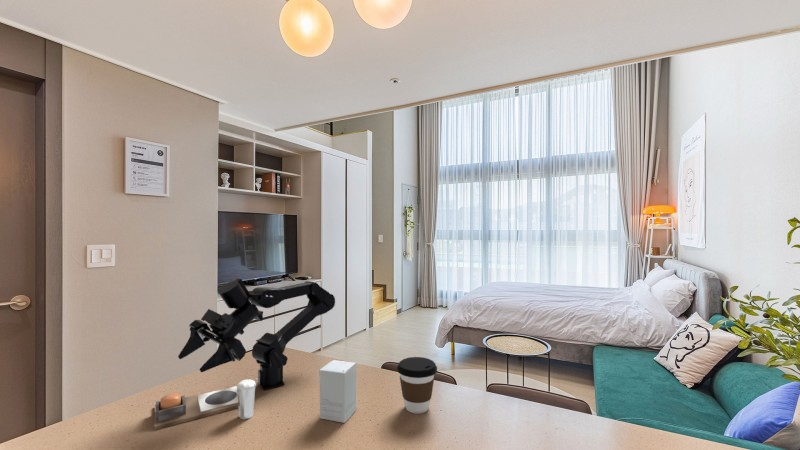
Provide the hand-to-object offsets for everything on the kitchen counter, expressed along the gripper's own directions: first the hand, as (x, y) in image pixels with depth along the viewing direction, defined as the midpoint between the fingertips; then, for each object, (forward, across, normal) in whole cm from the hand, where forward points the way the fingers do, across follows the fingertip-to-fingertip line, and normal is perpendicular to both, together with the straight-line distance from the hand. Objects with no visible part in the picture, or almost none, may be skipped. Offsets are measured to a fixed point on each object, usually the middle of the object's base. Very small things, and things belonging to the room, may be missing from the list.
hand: (189, 364), depth 91 cm
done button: (+8, -3, +10) cm, 13 cm away
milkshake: (0, +15, +14) cm, 20 cm away
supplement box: (-12, +34, +17) cm, 40 cm away
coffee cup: (-24, +51, +22) cm, 60 cm away
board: (+3, 0, +15) cm, 15 cm away
